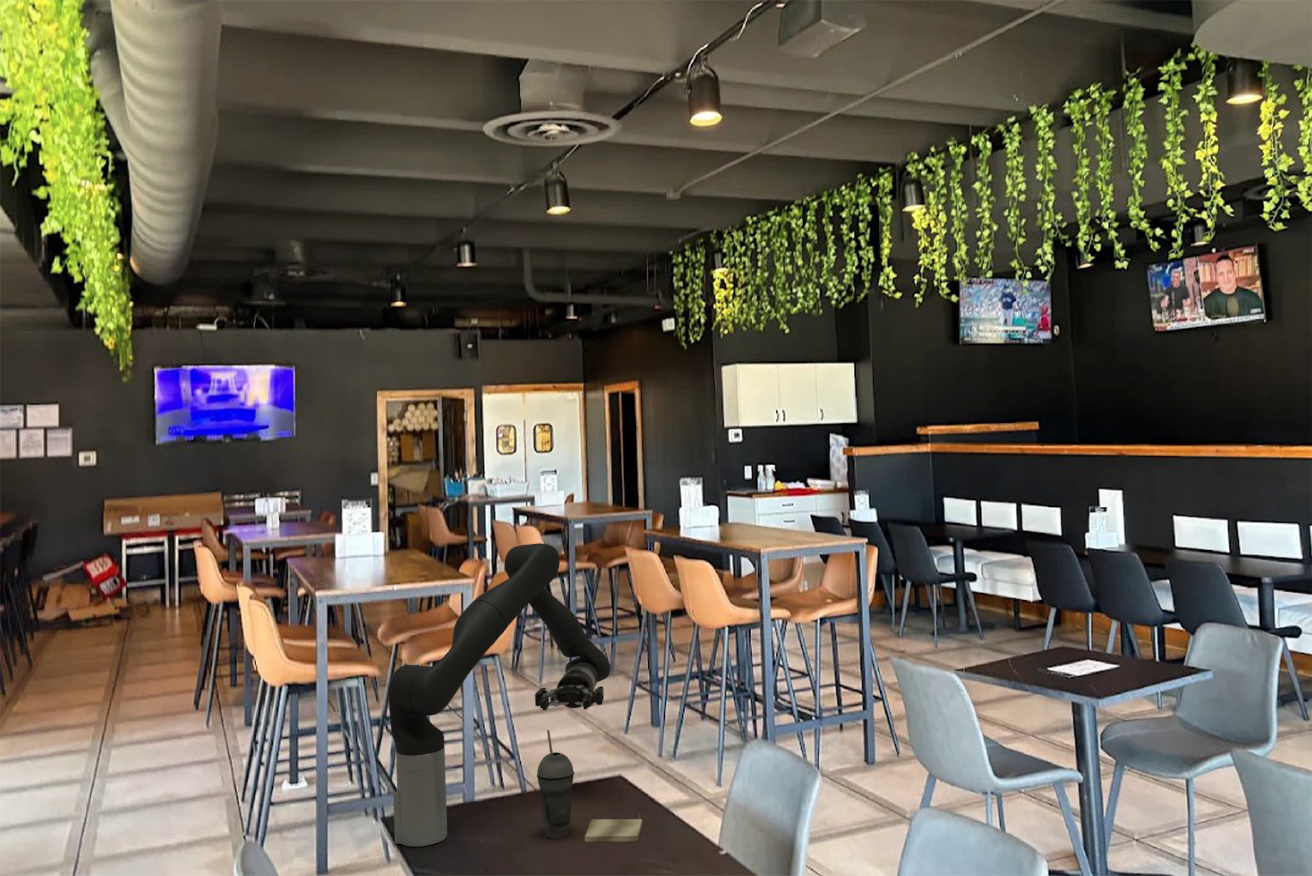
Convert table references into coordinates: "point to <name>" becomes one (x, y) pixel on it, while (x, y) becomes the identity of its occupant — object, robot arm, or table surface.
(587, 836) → the birch coaster
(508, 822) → the table surface
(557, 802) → the beverage cup
